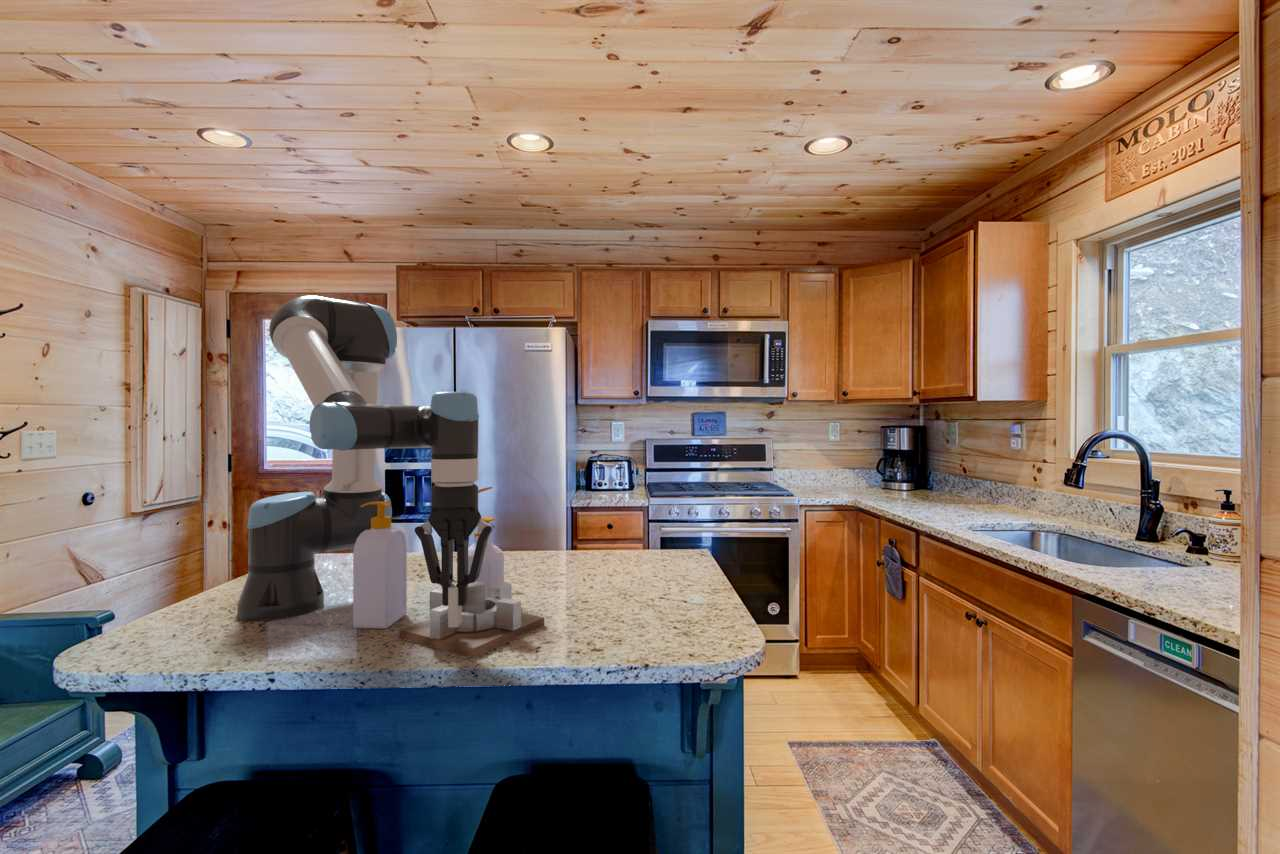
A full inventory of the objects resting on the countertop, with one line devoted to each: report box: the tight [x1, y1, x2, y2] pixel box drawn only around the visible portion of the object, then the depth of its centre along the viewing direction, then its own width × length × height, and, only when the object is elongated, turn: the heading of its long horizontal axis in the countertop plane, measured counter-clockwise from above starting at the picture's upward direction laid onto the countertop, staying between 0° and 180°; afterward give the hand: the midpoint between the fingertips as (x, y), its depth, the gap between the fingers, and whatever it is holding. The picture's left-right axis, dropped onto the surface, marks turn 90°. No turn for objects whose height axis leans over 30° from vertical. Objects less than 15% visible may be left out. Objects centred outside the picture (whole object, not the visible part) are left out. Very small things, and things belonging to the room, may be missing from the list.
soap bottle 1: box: [352, 501, 408, 629], centre depth 112 cm, size 9×7×23 cm
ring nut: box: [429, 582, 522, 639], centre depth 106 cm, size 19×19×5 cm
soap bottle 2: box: [468, 486, 505, 597], centre depth 125 cm, size 9×9×25 cm
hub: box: [398, 582, 545, 659], centre depth 106 cm, size 18×18×8 cm
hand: (455, 624), depth 98 cm, fingers closed
